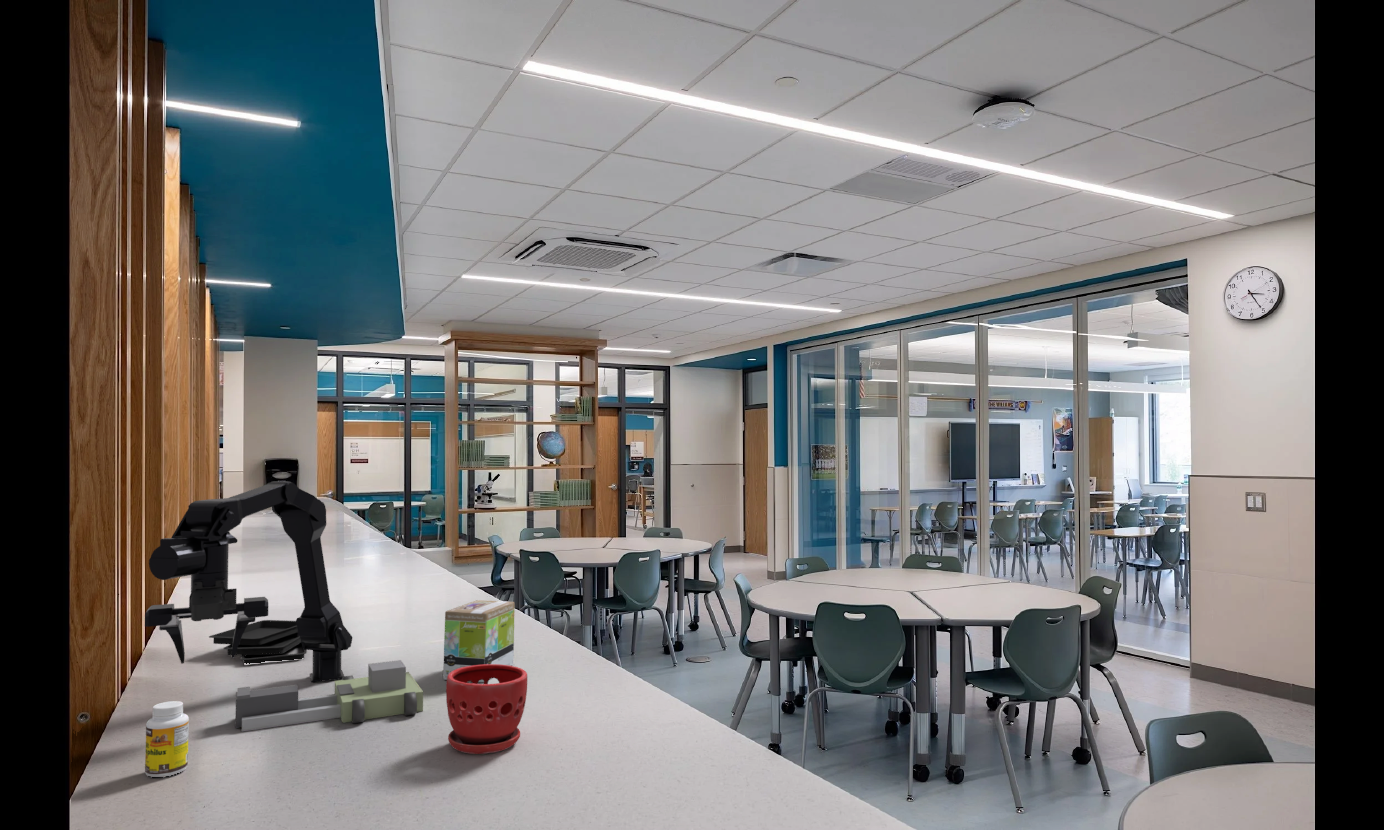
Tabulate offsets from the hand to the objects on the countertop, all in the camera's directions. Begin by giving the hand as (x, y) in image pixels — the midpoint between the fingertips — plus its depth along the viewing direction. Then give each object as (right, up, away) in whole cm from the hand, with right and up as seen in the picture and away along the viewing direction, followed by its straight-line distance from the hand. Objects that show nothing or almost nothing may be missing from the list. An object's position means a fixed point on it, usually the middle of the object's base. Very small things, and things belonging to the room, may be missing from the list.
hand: (208, 660), depth 148 cm
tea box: (+39, -14, +36) cm, 55 cm away
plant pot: (+52, -12, -9) cm, 54 cm away
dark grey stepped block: (+8, -12, +4) cm, 15 cm away
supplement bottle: (+5, -11, -20) cm, 24 cm away
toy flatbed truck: (+18, -12, +9) cm, 24 cm away
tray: (-19, -15, +56) cm, 61 cm away
